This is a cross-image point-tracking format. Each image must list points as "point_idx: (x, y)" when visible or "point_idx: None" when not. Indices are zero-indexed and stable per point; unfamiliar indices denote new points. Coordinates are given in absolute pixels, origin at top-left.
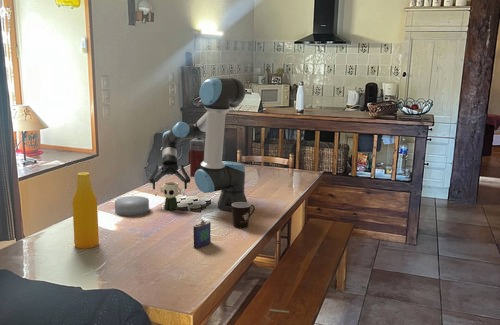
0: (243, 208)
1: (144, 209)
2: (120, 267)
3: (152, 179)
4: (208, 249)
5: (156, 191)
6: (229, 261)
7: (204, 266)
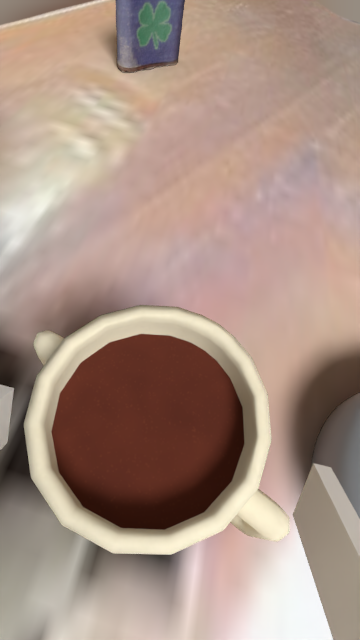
0: None
1: (352, 400)
2: (356, 57)
3: None
4: None
5: (323, 481)
6: None
7: None
